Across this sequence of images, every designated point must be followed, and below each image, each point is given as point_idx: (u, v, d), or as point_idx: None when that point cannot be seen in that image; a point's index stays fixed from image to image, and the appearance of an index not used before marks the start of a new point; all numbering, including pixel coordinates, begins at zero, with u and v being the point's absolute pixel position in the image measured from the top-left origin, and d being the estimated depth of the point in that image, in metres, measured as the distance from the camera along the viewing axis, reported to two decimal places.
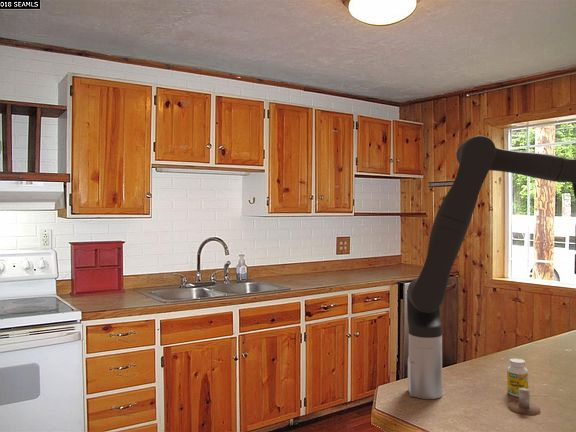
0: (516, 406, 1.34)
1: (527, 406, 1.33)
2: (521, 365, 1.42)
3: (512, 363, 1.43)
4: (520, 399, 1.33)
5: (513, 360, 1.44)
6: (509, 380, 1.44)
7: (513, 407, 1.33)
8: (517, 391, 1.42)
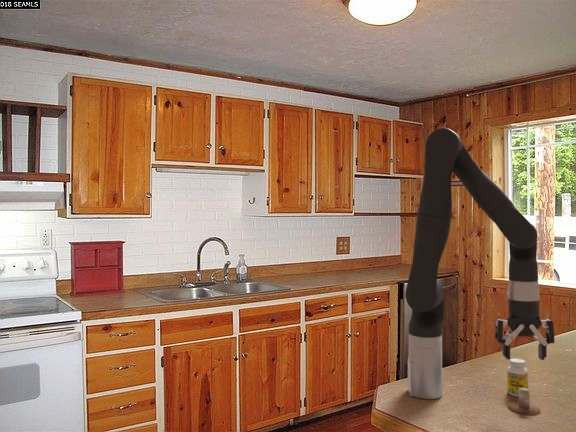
0: (516, 406, 1.34)
1: (527, 406, 1.33)
2: (521, 365, 1.42)
3: (512, 363, 1.43)
4: (520, 399, 1.33)
5: (513, 360, 1.44)
6: (509, 380, 1.44)
7: (513, 407, 1.33)
8: (517, 391, 1.42)
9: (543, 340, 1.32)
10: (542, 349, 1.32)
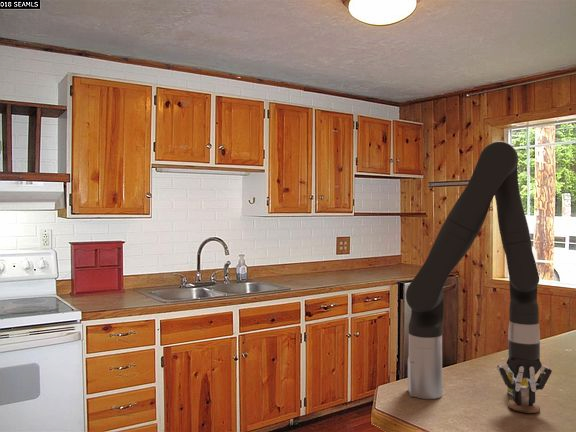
0: (516, 404, 1.34)
1: (527, 404, 1.33)
2: None
3: None
4: None
5: None
6: None
7: (513, 405, 1.33)
8: None
9: (532, 386, 1.32)
10: (531, 395, 1.32)
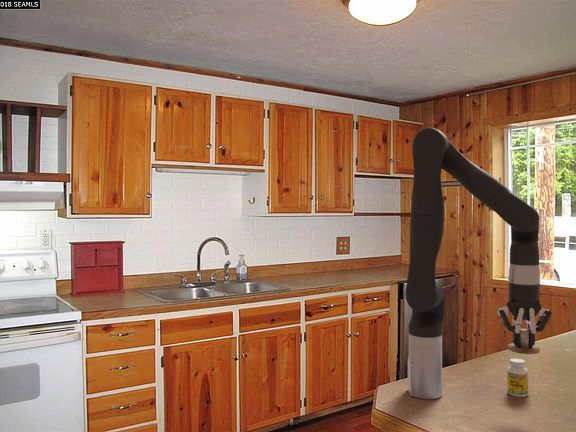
0: (515, 346, 1.34)
1: (526, 346, 1.32)
2: (521, 365, 1.42)
3: (512, 363, 1.43)
4: (520, 339, 1.33)
5: (513, 360, 1.44)
6: (509, 380, 1.44)
7: (512, 347, 1.33)
8: (517, 391, 1.42)
9: (532, 328, 1.32)
10: (530, 337, 1.32)
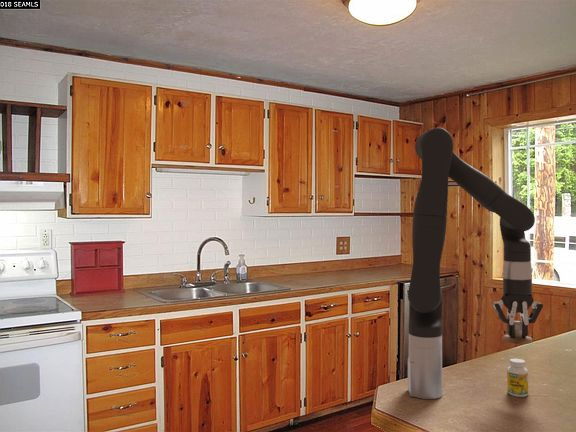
0: (510, 337, 1.44)
1: (520, 336, 1.43)
2: (521, 365, 1.42)
3: (512, 363, 1.43)
4: (514, 330, 1.44)
5: (513, 360, 1.44)
6: (509, 380, 1.44)
7: (507, 338, 1.44)
8: (517, 391, 1.42)
9: (525, 320, 1.43)
10: (524, 328, 1.43)
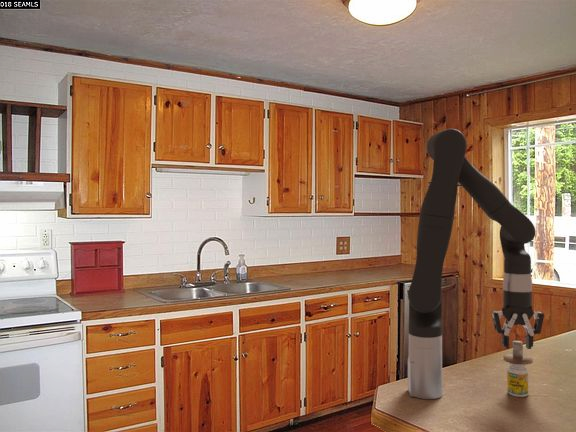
0: (510, 357, 1.44)
1: (520, 357, 1.43)
2: (521, 365, 1.42)
3: (512, 363, 1.43)
4: (514, 350, 1.44)
5: None
6: (509, 380, 1.44)
7: (508, 358, 1.44)
8: (517, 391, 1.42)
9: (530, 331, 1.43)
10: (529, 339, 1.43)
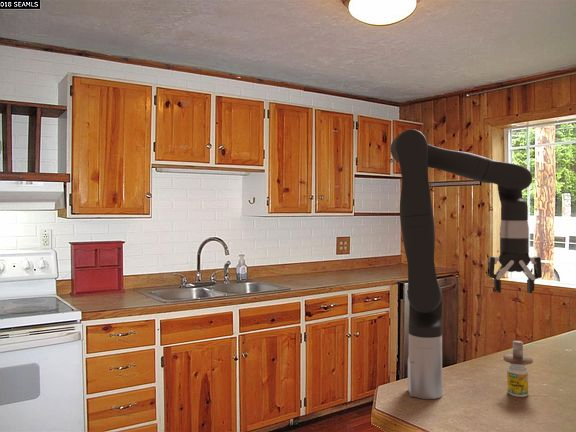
0: (510, 357, 1.44)
1: (520, 357, 1.43)
2: (521, 365, 1.42)
3: None
4: (514, 350, 1.44)
5: None
6: (509, 380, 1.44)
7: (508, 358, 1.44)
8: (517, 391, 1.42)
9: (531, 275, 1.44)
10: (530, 283, 1.44)
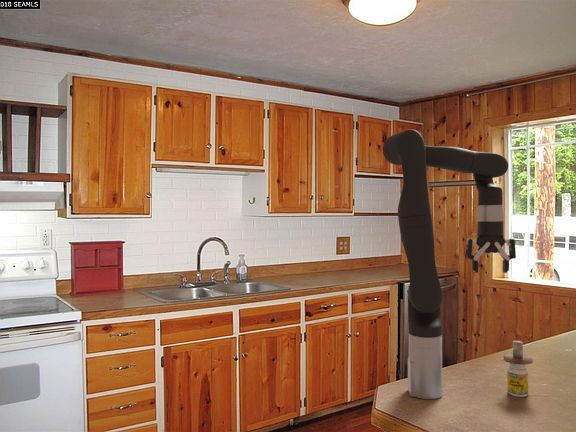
0: (510, 357, 1.44)
1: (520, 357, 1.43)
2: (521, 365, 1.42)
3: (512, 363, 1.43)
4: (514, 350, 1.44)
5: None
6: (509, 380, 1.44)
7: (508, 358, 1.44)
8: (517, 391, 1.42)
9: (506, 256, 1.55)
10: (505, 263, 1.55)
